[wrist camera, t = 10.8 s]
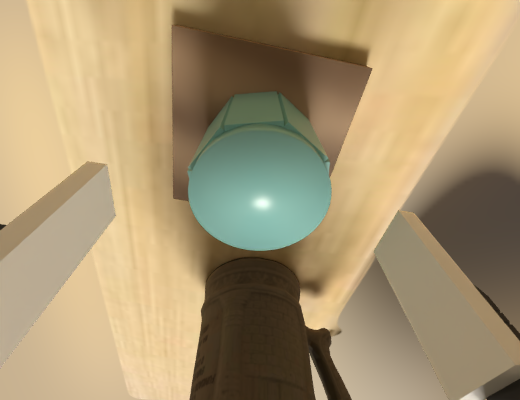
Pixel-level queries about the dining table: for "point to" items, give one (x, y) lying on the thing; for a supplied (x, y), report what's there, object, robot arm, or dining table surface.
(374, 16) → the dining table surface
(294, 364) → the beer stein
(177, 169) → the post block
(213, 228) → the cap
